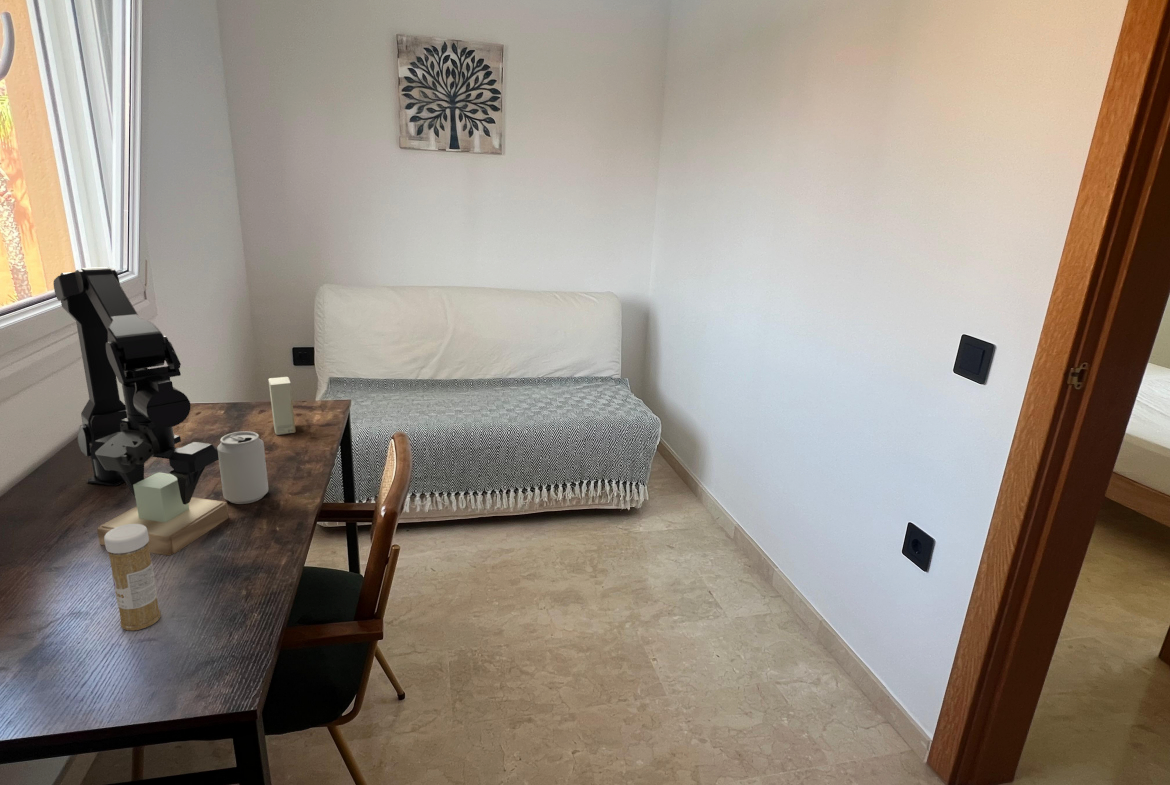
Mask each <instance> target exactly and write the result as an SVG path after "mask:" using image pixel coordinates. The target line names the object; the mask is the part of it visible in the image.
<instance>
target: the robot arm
mask: <svg viewBox="0 0 1170 785" xmlns="http://www.w3.org/2000/svg"><path fill="white" fill-rule="evenodd" d="M53 290H54V294H55V297H56V299H57V300H58V301H60V304H61V307H62V309H64V311H65V312H66V313H68V315H69V316H71V318H72V319H73V320H74V321H75V323H76V328H77V335H78V341H79V345H80V346H79V347H80V352H81V357H82V364H83V369H84V375H85V380H86V387H87V393H88V401H87V402H86V404H85V406H84V407H83V409H82V411H81V412H80V415H81V416H80V418H81V422H82V423H81V424H80V425H79V426H78V427H79V428H78V432H77V433H78V434H77V442H78V446H79V450H80V452H82V454H84V456H86V457H87V458H89V457H90V461H91V468H92V471H93V476H92V477H91V476H90V477H89V478H87V479H86V482H87V483H93V484H97V485H106V486H113V487H116V486H118V485H121V484H123V483H125V484H126V486H127V487H128V488H129V490H130V491H131V493H132V494H133V496H134V497H135V493H134V487H133V485H134V484H136V483H138V482H140V481H142V480H144V479H145V463H147V462H148V461H149V459H151V457H152V458H158V459H159V458H160V459H165V460H168V461H169V467H171V468H172V470H171V471H169V473H168V474H172V475H174V476H175V477H177V480H178V485H179V491H180V496H181V499H182V502H183V504H185V505H186V504H188V503H189V502H190V500H191V498H192V497H193V495H194V493H195V490H196V487H197V485H198V482H199V480H200V478H201V476H202V475H203V472H204V470H205V468H206V467H208V466H210V465H211V464H212V463H215V462H217V461H219V457H218V450H217V447H218V446H216V445H214V444H213V443H206V442H198V441H197V442H196V441H193V442H191V443H189V444H186V445H184V446H182V447H176V444H179V443H181V442H182V439H181V435H177V434H175V432H174V428H173V427H175V426H178V425H180V424H181V423H183V422H184V421H185V420H186V419H187V418H188V417H189V414H190V412H191V401H190V400H189V398H188V396H187V395H186V394H185V393H184V392H182V391H180V390H179V389H178V388H176V387H174V386H173V382H172V380H171V378H173V377H180V376H181V370H180V369H181V365H182V364H181V361H180V359H179V357H178V355H177V352H176V350H175V349H174V346H173V344H172V342H171V341H170V340H169V339H168V336H166V335H163V333H162V331H161V330H160V329H159V327H158V326H157V325H156V324H155V323H154V322H152V321H149V320H146V319H144V318H141V317H140V315H139V314H138V312H137V311H136V309H135V307H134V306H133V304H132V303H131V300H130V299H129V298H128V296H127V294H126V292H125V291H124V289H123V288H122V286H121V283H120V278H119V276H118V272H117V271H116V269H115V268H114V267H112V268H111V267H110V266H109V267H108V266H98V267H97V266H96V267H81V269H76V270H75V271H73V272H72V271H71V272H70V271H69V272H61V273H60V275H57V276H56V278H55V279H53ZM165 362H166V365H167V366H166V365H165ZM164 365H165V366H164ZM118 382H119V383H120V384H121V388H122V393H123V400H124V402H123V401H122V400H121V399H120V392H119V386H118Z"/></svg>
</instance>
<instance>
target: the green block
mask: <svg viewBox="0 0 1170 785" xmlns="http://www.w3.org/2000/svg"><path fill="white" fill-rule="evenodd" d="M133 487H134V493H135V496H134V497H135V498H134V499H135V504H136V506H137V510H138V516H139V519H146V520H152V521H158V522H165V523H166V522H168V521H169V520H171V519H173V518H174V517H176V516H178V515H180V514H181V513H183V512H185V511H186V510H188V509H189V503H188V504H186V505H185V504H183V502H182V499H181V496H180V491H179V485H178V480H177V477H175V476H174V475H172V474H170V473H165V472H159V471H158V472H155V473H154V474H152V475H150V476H148V477H146V478H144V480H142V481H140V482H138V483H136V484H134V485H133Z"/></svg>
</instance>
